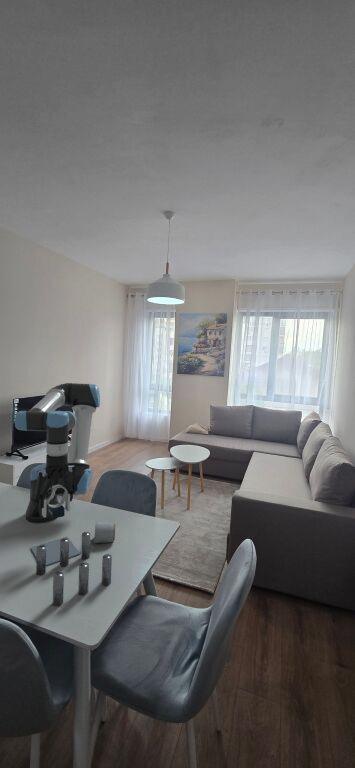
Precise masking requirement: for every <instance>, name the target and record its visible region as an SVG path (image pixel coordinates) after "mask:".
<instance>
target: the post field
mask: <svg viewBox="0 0 355 768" xmlns="http://www.w3.org/2000/svg"><path fill="white" fill-rule="evenodd" d="M63 538H64V537H63ZM69 540H70V539H69V537H68V538H64V539H61V540H60V562H59V567H61V568H66V567H68V566H69V564H70V563H69V562H70V558H69ZM39 545H40V544H39ZM80 556H81V559H82V560H84V561H85V560H88V559H90V556H91V532H90V531H84V532H82V534H81V553H80ZM35 558H36V559H35V560H36V562H35V565H36V566H35V567H36V569H35V570H36V571H35V573H36V576H40V577H41V576H44V575H45V574H46V571H47V569H46V567H47V566H46V546H45V545H40V546H38V547H37V556H36V557H35ZM112 560H113V556H112V554H110V553H108V554H104V555H103V556H102V563H101V564H102V565H101V566H102V567H101V568H102V569H101V585H102V586H105V587H106V586H109V585H111V584H112V563H113V562H112ZM78 565H79V566H78V590H77V591H78V592H77V593H78V595H79V596H83V597H84V596H87V595H88V593H89V580H90V578H89V576H90V575H89V573H90V572H89V571H90V564H89V563H88V562H86V561H85V562H82V563H80V564H78ZM64 579H65V573H64V571H56V572H54V573H53V575H52V605H53V607H60V606H62V605H63V604H64V583H65V580H64Z"/></svg>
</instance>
